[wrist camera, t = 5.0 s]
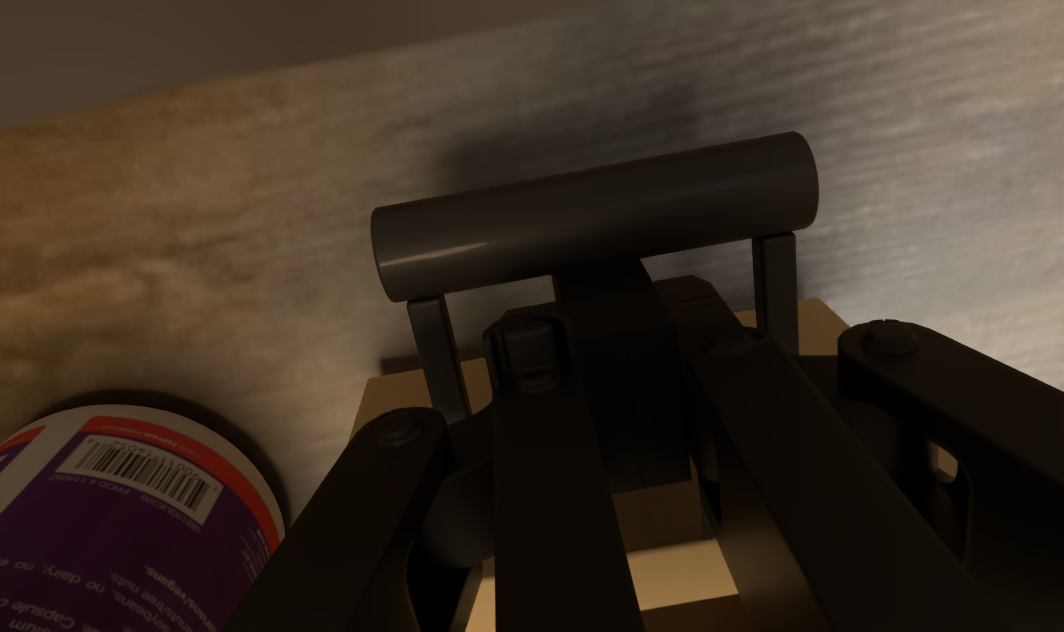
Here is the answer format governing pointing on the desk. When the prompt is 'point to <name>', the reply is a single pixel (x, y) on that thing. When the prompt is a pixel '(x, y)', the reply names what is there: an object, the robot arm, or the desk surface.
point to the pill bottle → (128, 523)
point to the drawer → (593, 240)
